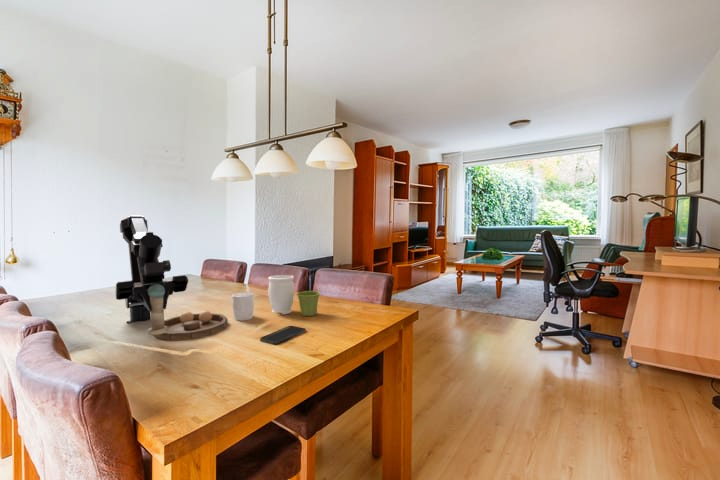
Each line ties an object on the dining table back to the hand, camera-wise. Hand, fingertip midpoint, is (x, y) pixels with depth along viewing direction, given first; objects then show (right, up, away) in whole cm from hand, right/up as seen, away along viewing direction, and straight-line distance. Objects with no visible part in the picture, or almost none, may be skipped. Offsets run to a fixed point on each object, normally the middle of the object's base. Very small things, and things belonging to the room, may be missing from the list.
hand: (158, 309), depth 100 cm
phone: (+35, -12, +12) cm, 39 cm away
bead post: (-1, -7, +1) cm, 7 cm away
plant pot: (+39, -10, +37) cm, 54 cm away
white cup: (+15, -10, +29) cm, 34 cm away
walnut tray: (+2, -11, +17) cm, 20 cm away
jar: (+28, -10, +40) cm, 49 cm away
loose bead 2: (+4, -9, +23) cm, 25 cm away
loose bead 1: (-3, -10, +22) cm, 24 cm away
